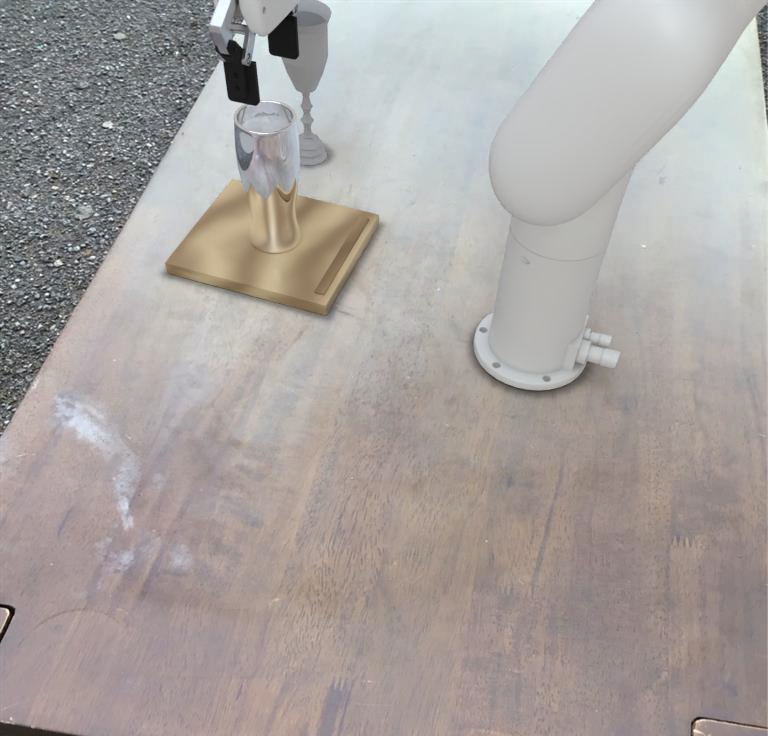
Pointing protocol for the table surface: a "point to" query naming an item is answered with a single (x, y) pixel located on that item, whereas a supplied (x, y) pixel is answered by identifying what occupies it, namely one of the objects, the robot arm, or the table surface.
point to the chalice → (310, 71)
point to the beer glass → (269, 172)
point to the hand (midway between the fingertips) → (265, 78)
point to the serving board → (275, 270)
